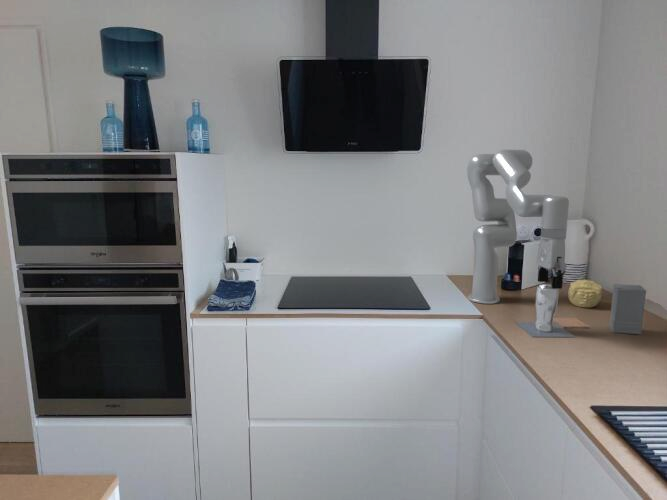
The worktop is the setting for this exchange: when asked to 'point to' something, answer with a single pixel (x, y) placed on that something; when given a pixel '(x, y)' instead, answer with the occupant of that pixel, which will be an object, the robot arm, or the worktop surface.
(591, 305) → the sculpture
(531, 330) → the blue-grey tile
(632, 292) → the skincare box
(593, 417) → the worktop surface
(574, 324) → the coaster
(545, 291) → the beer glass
